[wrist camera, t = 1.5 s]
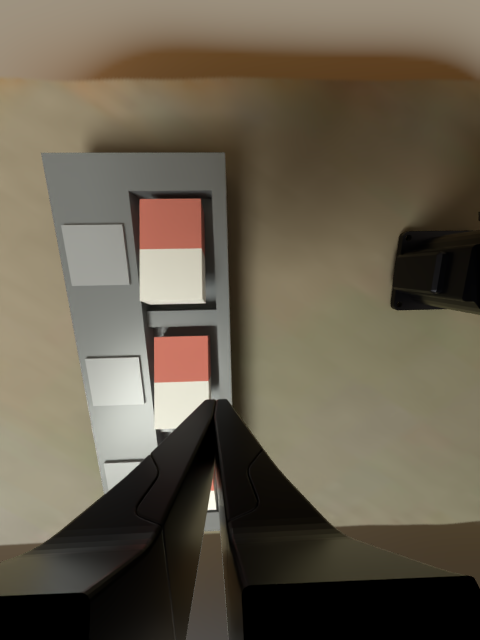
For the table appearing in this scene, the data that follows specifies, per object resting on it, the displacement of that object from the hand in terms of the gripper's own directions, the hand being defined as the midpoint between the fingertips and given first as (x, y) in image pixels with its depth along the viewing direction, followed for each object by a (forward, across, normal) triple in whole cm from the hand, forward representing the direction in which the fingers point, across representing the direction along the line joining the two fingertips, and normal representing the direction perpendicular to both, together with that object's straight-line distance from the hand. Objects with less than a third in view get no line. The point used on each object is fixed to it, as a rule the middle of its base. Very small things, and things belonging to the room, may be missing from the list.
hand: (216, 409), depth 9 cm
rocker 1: (+8, +3, -6) cm, 11 cm away
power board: (+12, +5, +3) cm, 13 cm away
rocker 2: (+8, +3, +3) cm, 9 cm away
